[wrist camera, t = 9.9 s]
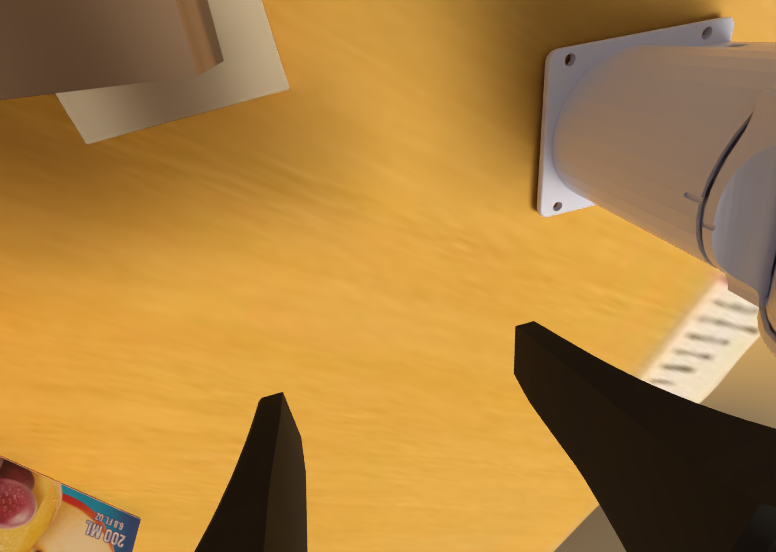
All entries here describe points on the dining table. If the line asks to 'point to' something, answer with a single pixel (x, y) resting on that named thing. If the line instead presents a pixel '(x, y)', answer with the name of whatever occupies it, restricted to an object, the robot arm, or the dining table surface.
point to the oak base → (188, 80)
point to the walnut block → (102, 44)
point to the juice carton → (57, 516)
